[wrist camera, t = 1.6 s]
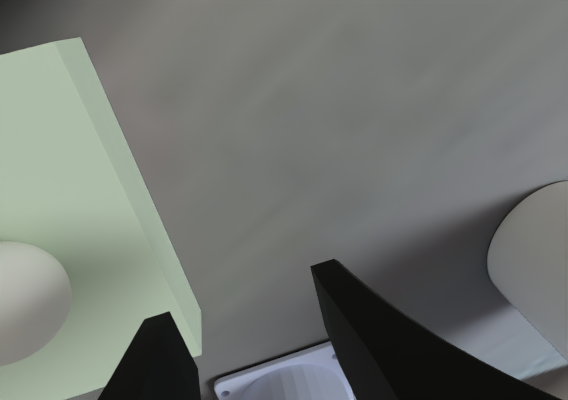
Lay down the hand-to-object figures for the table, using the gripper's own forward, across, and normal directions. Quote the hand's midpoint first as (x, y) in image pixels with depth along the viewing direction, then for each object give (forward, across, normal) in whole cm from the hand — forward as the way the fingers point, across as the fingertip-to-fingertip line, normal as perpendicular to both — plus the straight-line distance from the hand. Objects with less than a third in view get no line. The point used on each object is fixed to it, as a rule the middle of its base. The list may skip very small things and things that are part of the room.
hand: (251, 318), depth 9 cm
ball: (+4, +8, 0) cm, 9 cm away
